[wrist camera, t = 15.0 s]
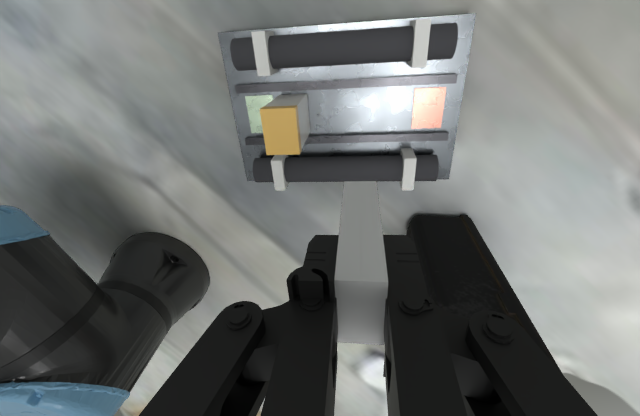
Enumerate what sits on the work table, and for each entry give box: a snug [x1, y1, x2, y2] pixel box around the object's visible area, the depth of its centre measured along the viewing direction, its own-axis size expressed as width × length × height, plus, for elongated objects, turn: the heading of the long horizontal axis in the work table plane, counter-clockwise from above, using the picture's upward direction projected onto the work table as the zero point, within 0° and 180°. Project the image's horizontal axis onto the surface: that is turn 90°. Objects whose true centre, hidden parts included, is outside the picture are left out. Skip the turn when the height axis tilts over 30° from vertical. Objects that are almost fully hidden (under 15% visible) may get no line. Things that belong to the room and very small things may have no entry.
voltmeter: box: [407, 215, 562, 373], centre depth 32 cm, size 16×9×25 cm, turn 1°
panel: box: [218, 13, 476, 181], centre depth 33 cm, size 24×16×3 cm, turn 94°
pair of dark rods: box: [230, 19, 458, 191], centre depth 31 cm, size 20×16×3 cm
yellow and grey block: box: [260, 94, 310, 155], centre depth 30 cm, size 3×4×7 cm
